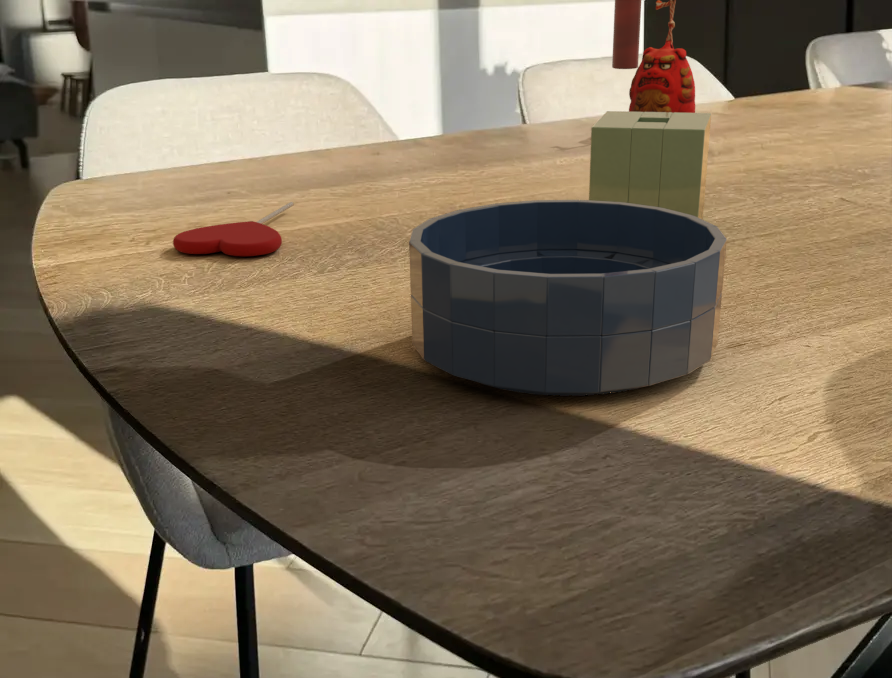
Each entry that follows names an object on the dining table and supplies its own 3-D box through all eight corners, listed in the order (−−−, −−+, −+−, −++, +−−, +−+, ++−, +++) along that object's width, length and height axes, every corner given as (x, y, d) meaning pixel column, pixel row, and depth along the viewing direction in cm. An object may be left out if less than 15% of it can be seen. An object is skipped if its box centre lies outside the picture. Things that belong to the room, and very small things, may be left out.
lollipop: (247, 207, 94) (162, 253, 81) (246, 196, 94) (161, 240, 80) (338, 211, 92) (266, 258, 79) (337, 200, 92) (265, 246, 78)
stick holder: (602, 212, 90) (606, 111, 87) (703, 217, 88) (711, 113, 85) (587, 236, 83) (591, 127, 80) (696, 241, 81) (704, 129, 78)
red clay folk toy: (618, 132, 126) (625, -11, 120) (640, 123, 132) (648, -14, 126) (683, 136, 123) (693, -11, 117) (703, 127, 128) (714, -14, 122)
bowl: (580, 290, 71) (584, 187, 68) (779, 361, 59) (793, 240, 56) (359, 341, 63) (353, 227, 60) (536, 436, 51) (538, 298, 48)
